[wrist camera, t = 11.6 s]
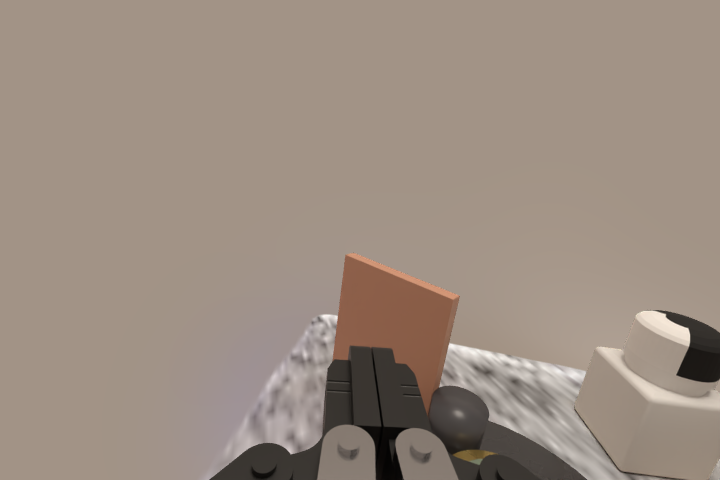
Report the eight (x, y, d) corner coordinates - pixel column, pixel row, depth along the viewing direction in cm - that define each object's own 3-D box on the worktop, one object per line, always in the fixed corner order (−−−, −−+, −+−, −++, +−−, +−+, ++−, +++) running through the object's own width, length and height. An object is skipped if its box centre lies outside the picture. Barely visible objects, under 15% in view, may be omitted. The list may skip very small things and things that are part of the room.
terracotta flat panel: (487, 439, 27) (524, 312, 24) (465, 472, 24) (504, 332, 21) (350, 352, 35) (364, 249, 32) (320, 369, 32) (333, 258, 29)
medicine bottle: (643, 416, 35) (691, 307, 32) (708, 484, 28) (778, 355, 25) (571, 407, 35) (612, 296, 32) (619, 473, 28) (677, 341, 25)
